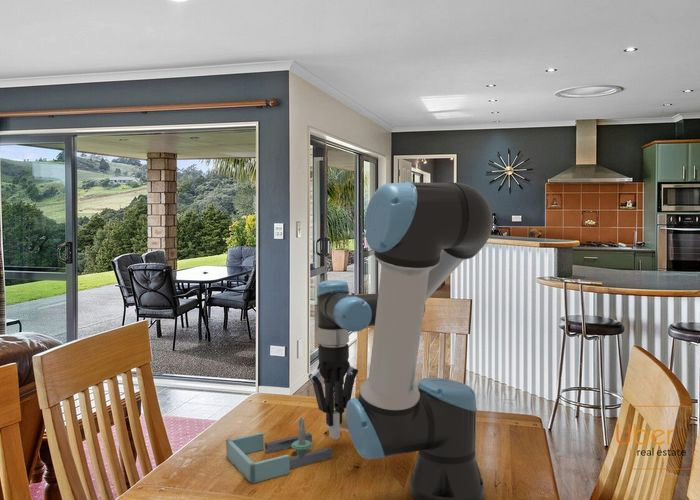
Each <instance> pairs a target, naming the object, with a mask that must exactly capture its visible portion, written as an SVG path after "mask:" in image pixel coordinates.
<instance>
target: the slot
mask: <svg viewBox="0 0 700 500" xmlns="http://www.w3.org/2000/svg"><path fill="white" fill-rule="evenodd" d="M298 436H299V435H298V434H297V435H294V436H290V437H285V438H281V439H276V440H272V441H269V442H265V443H264V451H265V453H267V454H270V453H274V452H279V451H282V450H287V449H290V448H292V447H291V445H292V443H293V442H295V441H297V440H298V439H299V437H298ZM305 440H308V441H310V442H311V443H312V444H313V434H312V433H310V432H305ZM330 459H333V449H332V448H330V447H325V448H321V449H317V450H313V451H308V453H305V454H301V455H297V454H296V455H294V456H289V469H294V468H298V467H304V466H306V465H311V464H314V463H318V462H322V461H326V460H330Z"/></svg>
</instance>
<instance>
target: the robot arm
mask: <svg viewBox="0 0 700 500" xmlns="http://www.w3.org/2000/svg"><path fill="white" fill-rule="evenodd" d="M366 207H367V208H366V211H365V216H364V225H363V226H364V230H365V234H364V237H365V240H366V243H367V245H368V247H369V248H370V249H371V250H372V251H374V252H373V254H374V255H373V256H374V259H376V260H377V262H378V263H379V264H380V275H379V277H380V278H379V286H378V292H376V293H375V292H374V293H362V294H360V293H359V294H350V289H349V283H348V282H347V281H344V280H336V279H335V280H333V279H331V280H322V281H321V282H320V281H319V283H318V285H317V295H316V298H317V335H318V337H317V340H318V342H317V343H319V345H318V346H317V347H318V348H317V355H318V365H317V368H316V371H315V372H314V373H310V374H308V379H309V380H310V382H311V383H312V387H313V391H314V394H315V400H316V402H317V406H318V407H317V408H318V410H319V411H321V412H322V413H324V414H325V419H326V420H325V422H326V423H327V425H328V426H329V429H328V437H330V438H331V439H333V440H340V438H341V437H340V434H341V431H340V424H342V413H344V411H345V410H344V409H345V408H346V417H347V424H348V428H349V432H348V433H349V435H350V438H351V440H352V441H351V442H352V444H353V447H354V448H355V450H356V451H357V453H358V454H359V455H360V456H361V457H362V458H364V459H366V460H374V459H375V460H376V459H381V460H382V459H385V458H388V457H393V456H397V455H405V454H408V453H409V454H410V453H414V452H417V453H418V454H417V458H416V461H415V464H414V469H413V471H412V474H411V475H410V479H409V493H410V496H411V497H412V498H413V499H414V500H484V497H485V484H484V480H483V478H482V475H481V470H480V468H479V465H478V461H477V459H476V448H477V445H476V442H477V441H476V439H477V438H476V437H477V436H476V435H477V434H476V429H477V411H478V409H477V399H476V393H475V391H474V389H473V388H472V387H470V386H469V385H467V384H465V383H463V382H460V381H457V380H453V379H447V378H440V377H425V378H422V379H419V380H418V384H417V385H415V383H414V382H415V376H416V370H417V362H418V356H419V348H420V341H421V335H422V326H423V321H424V320H423V319H424V316H425V313H426V302H427V300H428V299H430V297H431V296H433V294H434V293H435V292H436V290H437V289H438V288H439V287H440V286H441V285H442V284H443V283H444V282H445V281H446V280H447V278H449V276H450V275H452V273H454V271H455V270H456V269H457V268H458V267H459V266H460V265H461V263H463V261H464V260H470V259H472V258H474V257H476V255H477V254H478V253H479V252H480V251H481V250H482V249H483V248H484V246H485V245H486V244H487V242H488V241H489V239H490V236H491V235H492V230H493V223H494V217H493V211H492V207H491V205H490V204H489V202H488V200H487V198H486V197H485V196H484V195H483V193H481V192H480V191H479V190H478V189H476V188H474V187H473V186H471V185H468V184H466V183H462V182H419V181H417V182H416V181H401V182H395V183H394V182H392V183H390V182H389V183H385V184H383V185H381V186H379V187H378V188H377V189H376V191H374V193H373V194H372V196H371V197H370V200H369V201H368V204H367V206H366ZM368 327H374V329H373V337H372V347H371V356H370V357H371V359H370V365H369V373H368V374H369V375H368V377H367V378H366V379H364V380H363V381H362V382H361V384H360V386H359V393H358V397H352V395H353V387H354V384H355V379H356V377H357V374H358V373H359V370H358V369H357V368H355V367H353V366H351V364H350V362H349V359H350V353H349V352H350V346H349V344H348V343H349V342H350V334H349V333H350V332H354V333H355V332H356V333H357V332H361V331H363V330H365V329H366V328H368ZM322 379H323V384H324V389H323V385H322V382H321V380H322Z"/></svg>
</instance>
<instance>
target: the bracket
mask: <svg viewBox="0 0 700 500" xmlns="http://www.w3.org/2000/svg"><path fill="white" fill-rule="evenodd" d="M225 442H226V445H225V446H226V448H225V450H226V457H227V459H228V460H229V461H230V462H231V463H232V464H233V465H234V467H235V468H237V469H238V471H239V472H240V473H241V474H242V476H244V478H246V480H248V481H249V483H250V484H255V483H260V482H263V481H266V480H270V479H274V478H278V477H283V476H285V475H289V474H290V469H289V457H290V455H288V454H284V455H280V456H276V457H273V458H272V457H271V458H269V459H263V460H259V461H255V462H253V460H251V459H250V458H249V457H248V456H247V455H246V454H251V453H255V452H260V451H262V450H264V451H265V445H264V433H263V432H257V433H253V434H248V435H243V436H240V437H239V436H238V437H234V438H230V439H229V438H228V439H227V440H225Z"/></svg>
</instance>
